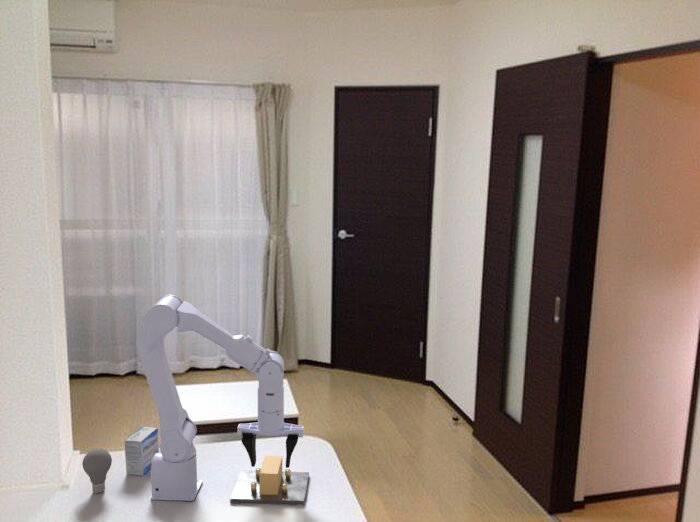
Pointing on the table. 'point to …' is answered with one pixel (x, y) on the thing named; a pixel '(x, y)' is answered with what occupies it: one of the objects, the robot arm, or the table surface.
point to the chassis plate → (288, 494)
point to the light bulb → (97, 467)
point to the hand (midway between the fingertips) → (270, 465)
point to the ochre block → (270, 475)
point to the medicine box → (141, 450)
